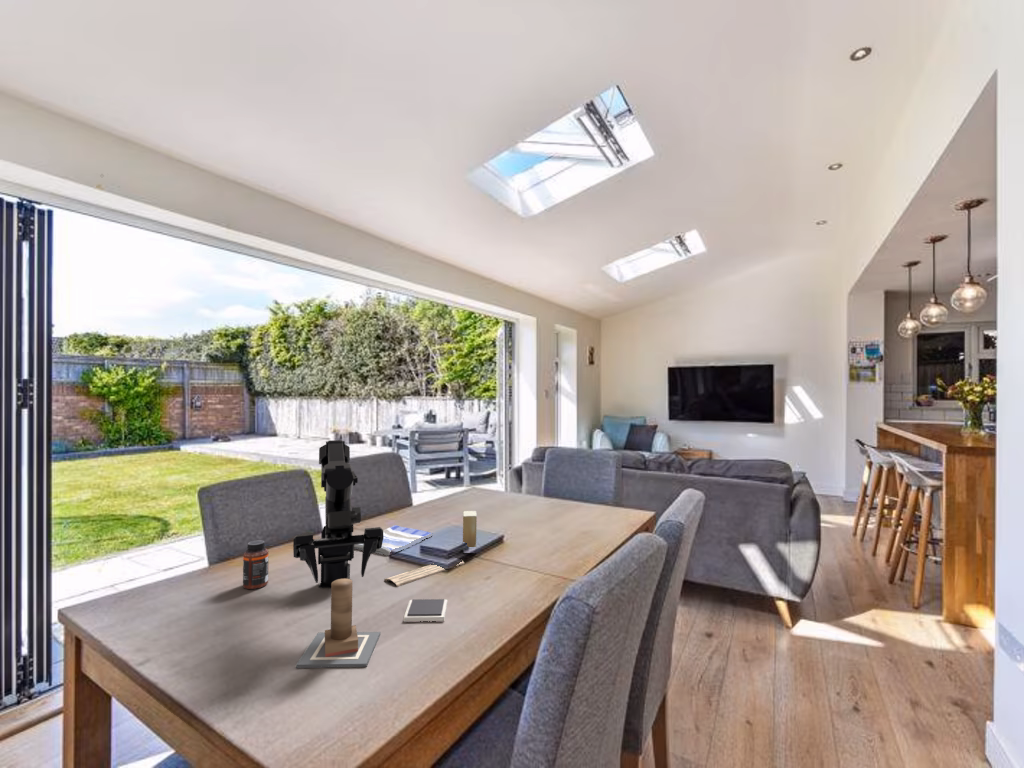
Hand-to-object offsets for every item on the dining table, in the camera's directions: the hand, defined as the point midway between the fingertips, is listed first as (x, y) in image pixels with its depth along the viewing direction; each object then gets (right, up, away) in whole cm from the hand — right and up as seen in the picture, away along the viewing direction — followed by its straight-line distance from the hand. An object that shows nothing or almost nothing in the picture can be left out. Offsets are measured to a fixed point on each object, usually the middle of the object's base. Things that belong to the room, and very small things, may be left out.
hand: (340, 579), depth 104 cm
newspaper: (+12, -13, +36) cm, 40 cm away
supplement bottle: (-31, -12, +25) cm, 41 cm away
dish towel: (-4, -13, +62) cm, 63 cm away
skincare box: (+23, -12, +53) cm, 59 cm away
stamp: (+2, -11, -6) cm, 13 cm away
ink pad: (+16, -12, +11) cm, 23 cm away
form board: (+2, -12, -6) cm, 13 cm away
